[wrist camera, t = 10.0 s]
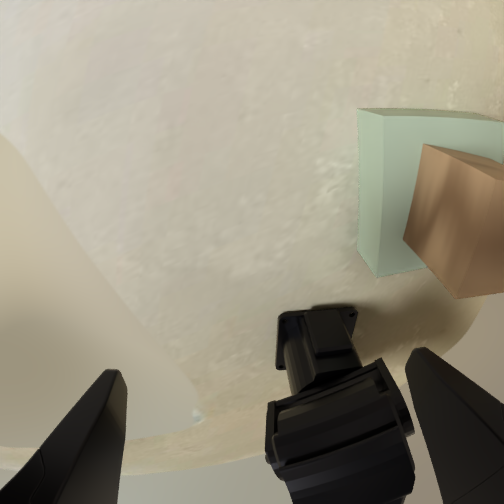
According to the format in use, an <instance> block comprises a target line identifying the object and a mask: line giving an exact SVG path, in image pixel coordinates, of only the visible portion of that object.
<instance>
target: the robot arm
mask: <svg viewBox="0 0 504 504" xmlns="http://www.w3.org/2000/svg"><path fill="white" fill-rule="evenodd" d="M352 312H353V313H352ZM350 313H352V314H350ZM357 314H358V312H357V310H356V308H354V307H346V308H337V309H327V310H317V311H306V312H294V313H283V314H281V315H280V316H279V317H278V325H277V342H276V359H275V366H276V369H277V370H287V375H288V380H289V384H290V389H291V394H292V396H290V397H287V398H284V399H281V400H278V401H275V400H274V401H271V402H268V410H267V416H266V437H265V452H266V456H265V459H266V462H267V463H268V464H270V465H271V466H272V468H273V470H274V472H275V474H276V475H277V477H278V478H279V479H280V480H282V481H285V483H286V486H287V488H288V490H289V493H290V496H291V499H292V502H293V504H403V503H404V500H405V497H406V495H408V494H411V492H412V490H413V486H414V481H415V474H414V470H415V465H414V461H413V458H412V455H411V452H410V449H409V446H408V443H407V440H406V437H409V436H411V435H413V434H414V433H415V431H414V426H413V422H412V419H411V416H410V413H409V411H408V408H407V406H406V403H405V401H404V398H403V396H402V394H401V392H400V390H399V388H398V386H397V385H396V383H395V381H394V379H393V377H392V376H391V374H390V372H389V370H388V368H387V367H386V365H385V363H384V361H383V360H382V358H379V359H377V360H375V362H373V363H371V364H369V365H367V366H364V367H363V366H362V363H361V361H360V358H359V356H358V354H357V351H356V349H355V347H354V344H353V342H352V340H351V338H352V334H353V330H354V326H355V322H356V319H357ZM283 319H286V320H283ZM405 372H406V376H407V380H408V384H409V388H410V392H411V396H412V401H413V405H414V409H415V412H416V415H417V418H418V421H419V424H420V427H421V429H422V433H423V436H424V439H425V442H426V445H427V448H428V451H429V455H430V458H431V461H432V464H433V468H434V471H435V475H436V478H437V482H438V485H439V488H440V493H441V496H442V500H443V504H504V404H503V403H500V401H499V400H497V399H496V398H495V397H493V396H492V395H491V394H489V393H488V392H487V391H485V390H484V389H483V388H481V387H480V386H479V385H477V384H476V383H474V382H473V381H472V380H470V379H469V378H467V377H466V376H465V375H464V374H462V373H461V372H459V371H458V370H457V369H455V368H454V367H452V366H451V365H450V364H448V363H447V362H446V361H444V360H443V359H442V358H440V357H439V356H437V355H436V354H435V353H433V352H432V351H430V350H429V349H428V348H426V347H420V348H415V349H414V350H413V351H412V353H411V355H410V357H409V359H408V361H407V363H406V366H405ZM126 409H127V386H126V384H125V381H124V379H123V377H122V374H121V372H120V371H119V370H117V369H106V370H105V371H104V372H103V373H102V374H101V375H100V376H99V377H98V378H97V380H96V381H95V382H94V383H93V384H92V385H91V387H90V388H89V389H88V390H87V391H86V392H85V394H84V395H83V396H82V397H81V398H80V400H79V401H78V402H77V403H76V404H75V406H74V407H73V408H72V409H71V410H70V411H69V412H68V414H67V415H66V416H65V417H64V418H63V420H62V421H61V422H60V423H59V424H58V426H57V427H56V428H55V429H54V431H53V432H52V433H51V434H50V435H49V437H48V438H47V439H46V440H45V441H44V443H43V444H42V445H41V446H40V449H38V450H37V451H36V452H35V453H34V455H33V456H32V457H31V458H30V459H29V461H28V462H27V463H26V464H25V465H24V466H23V468H22V469H21V470H20V471H19V472H18V473H17V474H16V475H15V476H14V477H13V478H12V479H11V480H10V481H9V482H8V483H7V484H6V485H5V486H4V487H3V488H2V489H1V490H0V504H117V499H118V490H119V480H120V473H121V465H122V458H123V451H124V444H125V433H126Z"/></svg>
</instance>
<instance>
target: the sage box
mask: <svg viewBox="0 0 504 504" xmlns="http://www.w3.org/2000/svg"><path fill="white" fill-rule="evenodd" d="M357 124H358V153H359V211H358V242H357V251H358V252H359V254H360V255H361V256H362V258H363V259H364V261H365V262H366V264H367V265H368V267H369V268H370V269H371V271H372V272H373V274H374V275H375V277H376V278H378V277H383V276H388V275H393V274H398V273H403V272H408V271H413V270H417V269H422V268H427V266H426V264H425V263H424V262H423V261H422V260H421V259H420V258H419V257H418V256H417V254H416V253H415V252H414V251H413V250H412V249H411V248H410V247H409V246H408V245H407V244H406V243H405V242H404V241H403V236H404V232H405V228H406V224H407V220H408V216H409V211H410V207H411V203H412V198H413V194H414V189H415V184H416V179H417V174H418V169H419V164H420V158H421V152H422V146H423V144H428V145H433V146H438V147H443V148H448V149H452V150H457V151H461V152H466V153H470V154H474V155H478V156H482V157H486V158H490V159H492V160H494V161H496V162H498V163H500V164H502V165H503V160H504V122H502V121H499V120H496V119H492V118H489V117H486V116H483V115H479V114H476V113H469V112H458V111H445V110H429V109H400V108H363V109H357Z"/></svg>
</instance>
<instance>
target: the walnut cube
mask: <svg viewBox="0 0 504 504" xmlns="http://www.w3.org/2000/svg"><path fill="white" fill-rule="evenodd" d="M403 241H404V242H405V243H406V244H407V245H408V246H409V247H410V248H411V249H412V250H413V251H414V252H415V253H416V254H417V256H418V257H419V258H420V259H421V260H422V261H423V262H424V263H425V264H426V266H427V267H428V268H429V269H430V270H431V271H432V272H433V273H434V275H435V276H436V277H437V278H438V279H439V280H440V281H441V283H442V284H443V285H444V286H445V287H446V289H447V290H448V291H449V292H450V293H451V294H452V296H453V297H454V298H455V299H460V298H468V297H475V296H482V295H489V294H496V293H503V292H504V165H502V164H500V163H498V162H496V161H494V160H492V159H490V158H486V157H482V156H478V155H474V154H470V153H466V152H461V151H457V150H452V149H448V148H443V147H438V146H433V145H428V144H423V146H422V152H421V158H420V164H419V169H418V174H417V179H416V184H415V189H414V194H413V198H412V203H411V207H410V211H409V216H408V220H407V224H406V228H405V232H404V236H403Z"/></svg>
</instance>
